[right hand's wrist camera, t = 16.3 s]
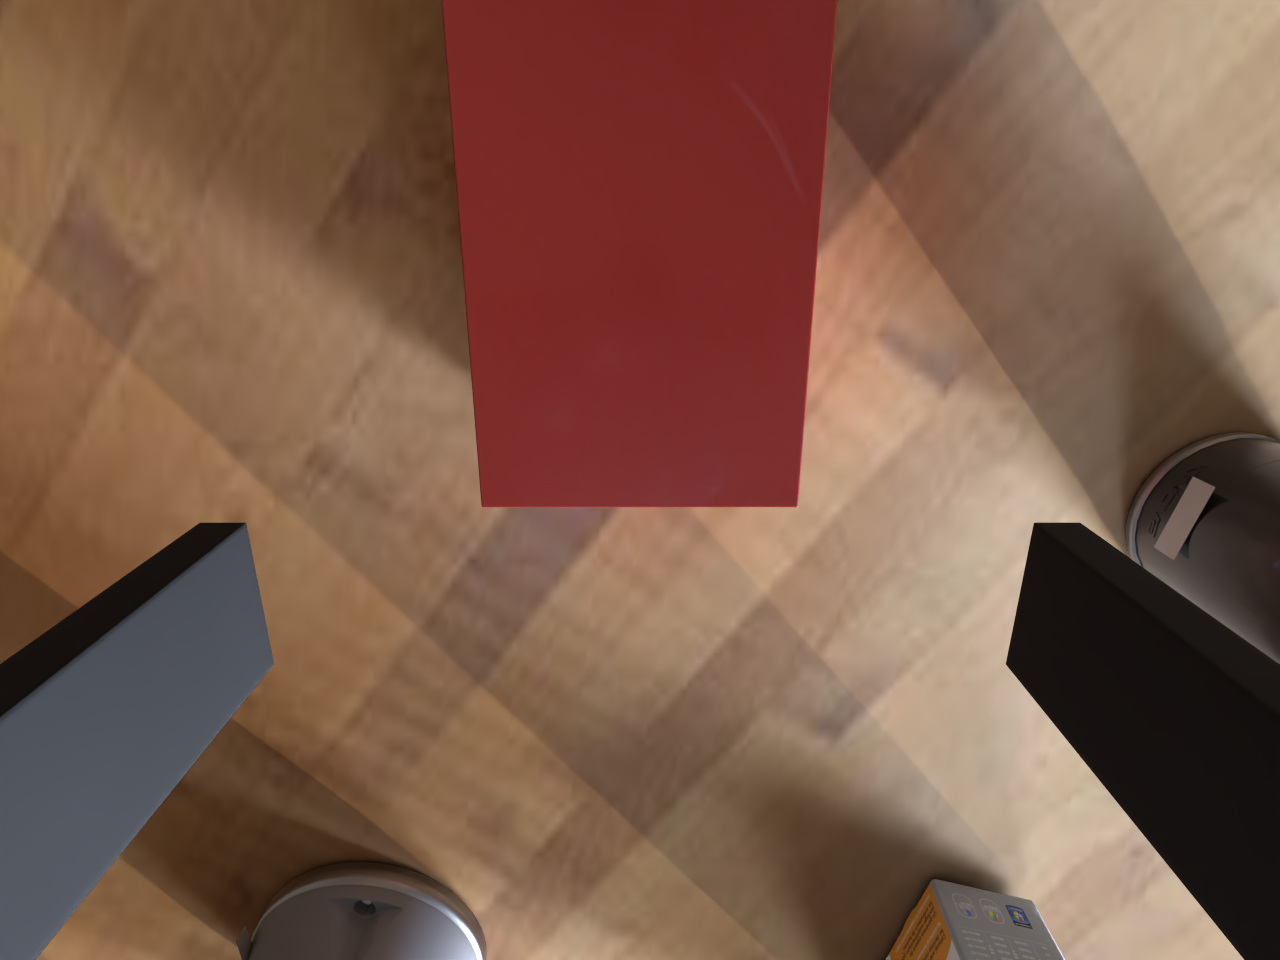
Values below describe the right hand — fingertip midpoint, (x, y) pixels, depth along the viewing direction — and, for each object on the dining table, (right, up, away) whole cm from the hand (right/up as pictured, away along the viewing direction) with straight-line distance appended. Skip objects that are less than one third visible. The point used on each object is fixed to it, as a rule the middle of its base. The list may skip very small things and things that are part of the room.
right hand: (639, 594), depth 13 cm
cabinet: (0, +13, +22) cm, 26 cm away
